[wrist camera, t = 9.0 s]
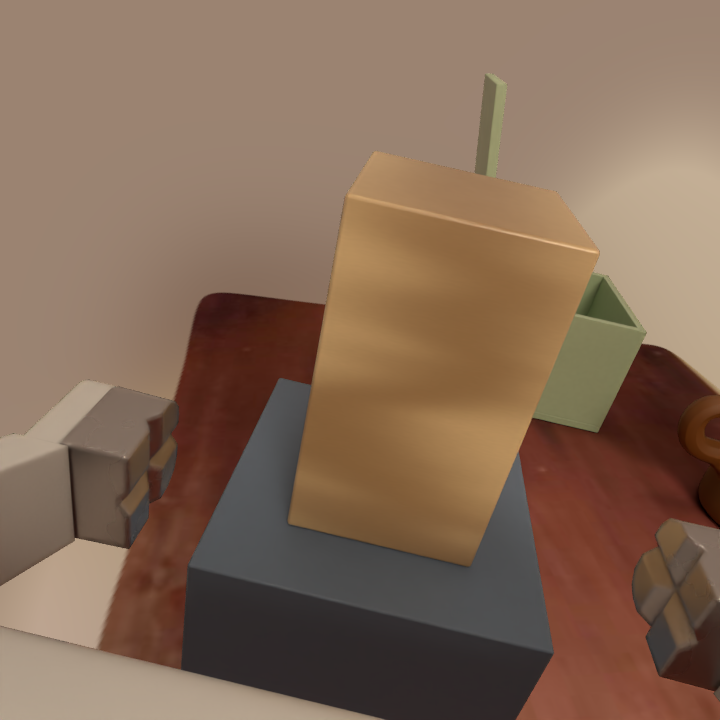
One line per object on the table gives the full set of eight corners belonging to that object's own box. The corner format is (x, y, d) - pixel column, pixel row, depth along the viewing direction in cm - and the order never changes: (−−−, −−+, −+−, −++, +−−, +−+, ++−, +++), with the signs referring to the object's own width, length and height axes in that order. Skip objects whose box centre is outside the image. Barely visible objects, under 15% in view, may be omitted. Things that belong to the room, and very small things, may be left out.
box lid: (493, 73, 48) (485, 73, 48) (507, 83, 38) (496, 83, 38) (475, 240, 55) (467, 240, 55) (482, 288, 44) (472, 288, 44)
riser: (167, 865, 20) (186, 565, 13) (240, 651, 27) (279, 377, 19) (398, 923, 20) (555, 653, 12) (410, 692, 27) (515, 432, 19)
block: (286, 525, 14) (344, 193, 10) (320, 419, 18) (373, 149, 14) (470, 569, 14) (602, 251, 10) (465, 452, 18) (558, 191, 14)
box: (570, 362, 60) (608, 275, 55) (597, 433, 49) (647, 332, 44) (443, 333, 60) (470, 244, 55) (443, 397, 49) (475, 293, 44)
